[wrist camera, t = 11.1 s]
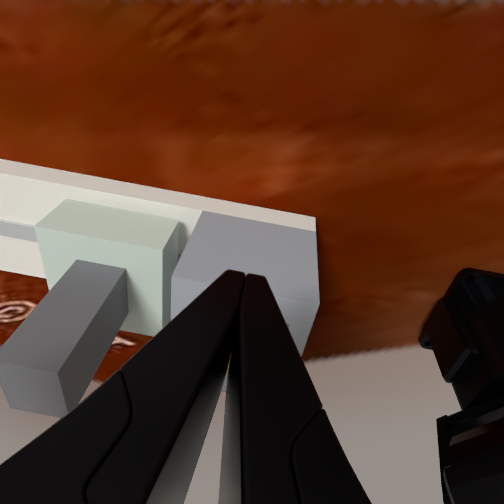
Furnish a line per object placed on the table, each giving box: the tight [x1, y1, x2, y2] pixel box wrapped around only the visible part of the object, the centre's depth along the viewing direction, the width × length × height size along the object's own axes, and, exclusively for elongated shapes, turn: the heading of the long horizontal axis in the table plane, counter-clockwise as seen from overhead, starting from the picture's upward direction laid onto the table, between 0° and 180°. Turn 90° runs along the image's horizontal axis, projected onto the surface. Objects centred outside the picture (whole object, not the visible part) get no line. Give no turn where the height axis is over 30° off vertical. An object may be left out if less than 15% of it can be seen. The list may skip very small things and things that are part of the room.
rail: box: [0, 159, 320, 392], centre depth 20 cm, size 26×7×7 cm, turn 82°
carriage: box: [0, 199, 179, 418], centre depth 17 cm, size 6×6×9 cm
